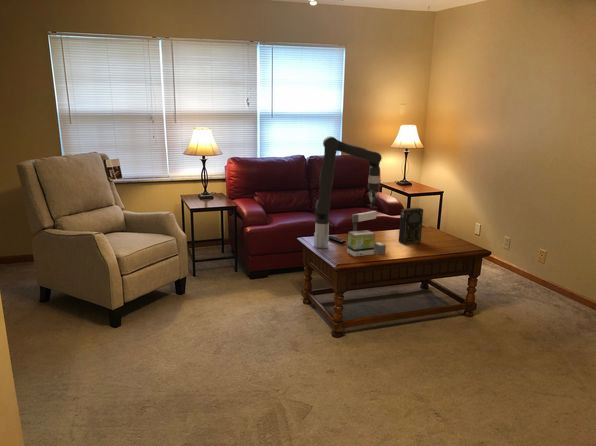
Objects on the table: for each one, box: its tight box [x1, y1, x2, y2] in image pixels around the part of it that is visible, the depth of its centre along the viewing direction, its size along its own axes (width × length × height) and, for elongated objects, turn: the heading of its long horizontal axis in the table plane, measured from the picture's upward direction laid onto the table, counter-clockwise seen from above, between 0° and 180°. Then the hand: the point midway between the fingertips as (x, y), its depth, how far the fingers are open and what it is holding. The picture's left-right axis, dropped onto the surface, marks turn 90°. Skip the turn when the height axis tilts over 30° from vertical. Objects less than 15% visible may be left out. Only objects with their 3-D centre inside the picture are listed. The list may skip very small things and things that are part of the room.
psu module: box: [374, 241, 387, 255], centre depth 309 cm, size 5×8×6 cm, turn 17°
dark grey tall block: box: [398, 207, 424, 245], centre depth 330 cm, size 16×9×25 cm, turn 113°
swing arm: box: [351, 210, 377, 224], centre depth 317 cm, size 4×21×5 cm, turn 127°
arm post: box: [352, 222, 358, 231], centre depth 315 cm, size 6×6×18 cm
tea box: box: [346, 229, 376, 258], centre depth 305 cm, size 15×10×15 cm, turn 114°
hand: (372, 207), depth 316 cm, fingers closed
